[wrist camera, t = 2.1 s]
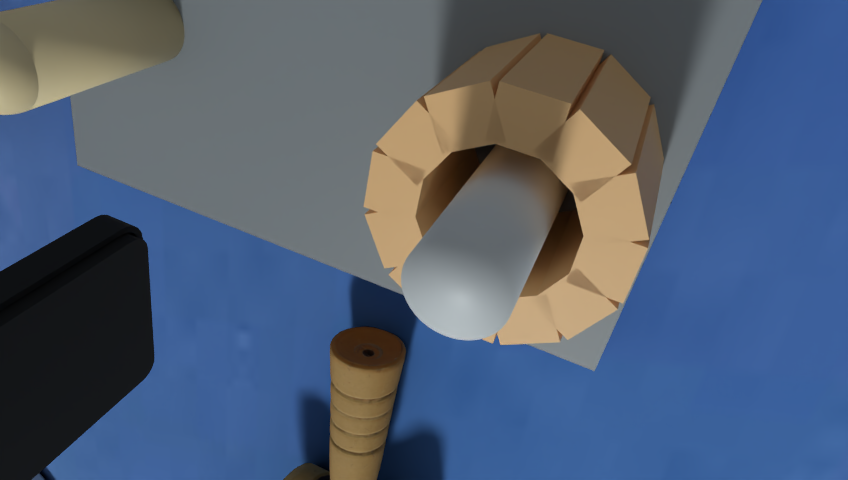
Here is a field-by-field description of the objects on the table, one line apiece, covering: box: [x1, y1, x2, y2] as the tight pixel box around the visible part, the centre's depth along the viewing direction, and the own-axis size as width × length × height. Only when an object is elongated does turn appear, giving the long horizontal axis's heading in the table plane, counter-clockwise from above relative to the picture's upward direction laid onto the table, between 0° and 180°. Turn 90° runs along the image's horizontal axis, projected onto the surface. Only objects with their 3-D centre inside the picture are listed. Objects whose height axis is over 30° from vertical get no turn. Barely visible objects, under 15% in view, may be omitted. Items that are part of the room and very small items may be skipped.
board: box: [0, 0, 762, 371], centre depth 19 cm, size 14×22×9 cm, turn 79°
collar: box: [364, 33, 664, 345], centre depth 18 cm, size 7×7×5 cm
